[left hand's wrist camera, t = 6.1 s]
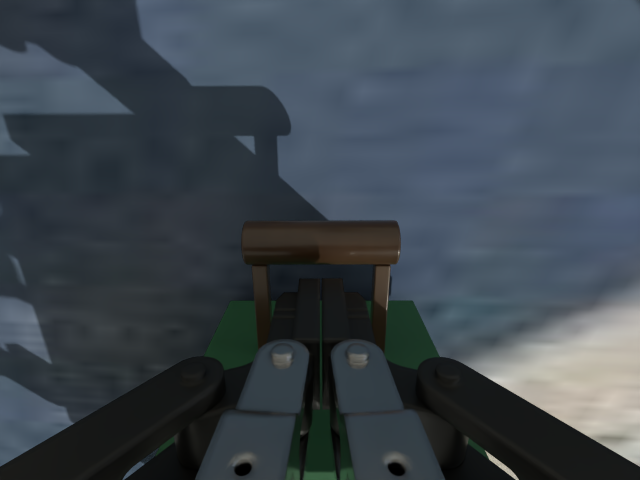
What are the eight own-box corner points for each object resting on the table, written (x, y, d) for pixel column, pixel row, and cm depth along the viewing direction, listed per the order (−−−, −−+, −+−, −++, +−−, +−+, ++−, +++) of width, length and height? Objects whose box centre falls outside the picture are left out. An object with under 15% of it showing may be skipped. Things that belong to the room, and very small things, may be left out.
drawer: (219, 196, 17) (103, 291, 8) (423, 195, 17) (538, 291, 8) (251, 503, 24) (209, 733, 15) (392, 504, 24) (434, 735, 15)
